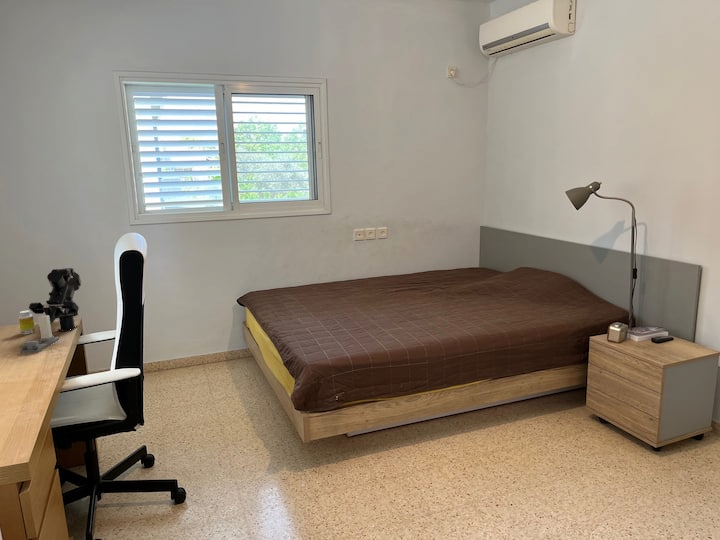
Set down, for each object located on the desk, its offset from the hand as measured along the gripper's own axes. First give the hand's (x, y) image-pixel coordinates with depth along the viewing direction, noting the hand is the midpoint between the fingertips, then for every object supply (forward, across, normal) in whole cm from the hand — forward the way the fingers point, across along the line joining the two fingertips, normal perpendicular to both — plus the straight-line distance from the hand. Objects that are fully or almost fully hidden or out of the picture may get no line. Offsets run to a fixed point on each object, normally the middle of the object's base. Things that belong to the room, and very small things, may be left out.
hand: (49, 324), depth 218 cm
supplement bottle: (-4, +18, -15) cm, 24 cm away
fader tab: (+6, +1, -3) cm, 6 cm away
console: (+10, +1, 0) cm, 10 cm away
